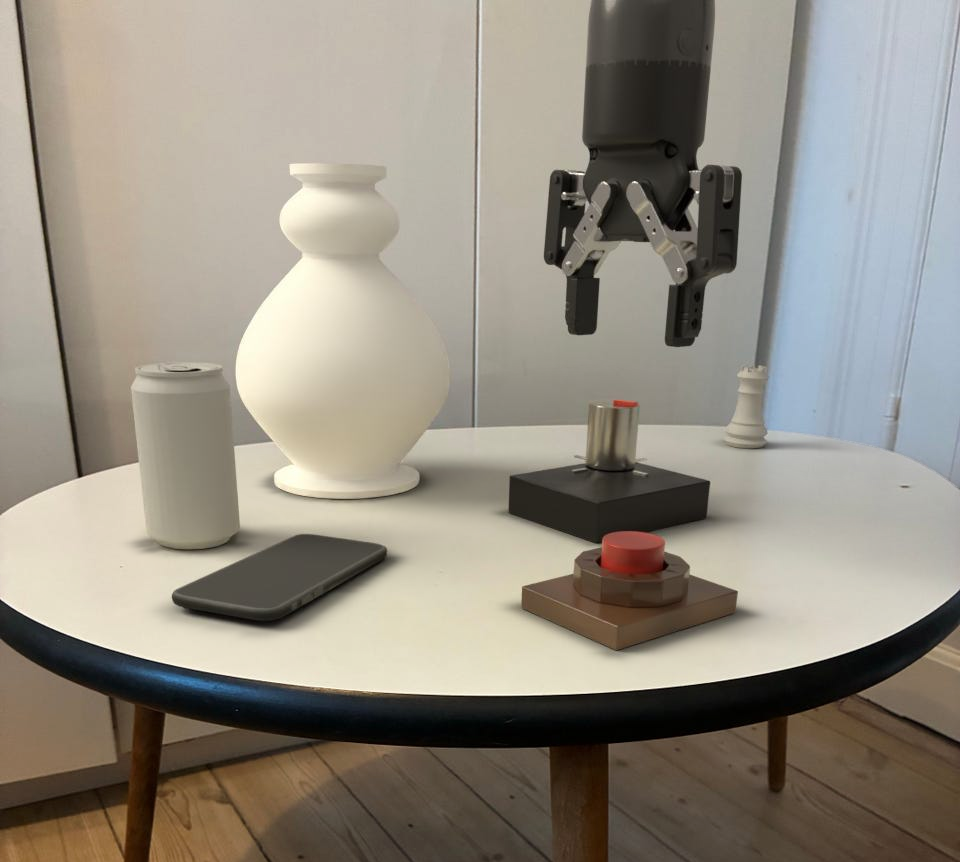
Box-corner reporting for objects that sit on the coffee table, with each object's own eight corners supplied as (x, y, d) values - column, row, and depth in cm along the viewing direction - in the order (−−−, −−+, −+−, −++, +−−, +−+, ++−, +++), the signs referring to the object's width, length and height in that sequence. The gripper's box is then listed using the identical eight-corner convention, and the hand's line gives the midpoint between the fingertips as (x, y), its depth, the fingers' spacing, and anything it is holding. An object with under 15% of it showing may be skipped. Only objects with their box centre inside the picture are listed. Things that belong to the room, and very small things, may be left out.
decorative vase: (233, 464, 94) (211, 166, 85) (419, 454, 100) (418, 173, 90) (256, 513, 79) (233, 155, 69) (475, 499, 84) (482, 165, 75)
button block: (638, 577, 67) (641, 532, 65) (735, 612, 61) (741, 564, 60) (520, 608, 61) (522, 559, 60) (616, 650, 55) (620, 598, 54)
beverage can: (167, 558, 68) (148, 374, 64) (134, 535, 73) (115, 362, 69) (255, 543, 72) (244, 368, 67) (219, 522, 77) (206, 357, 72)
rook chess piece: (720, 446, 106) (729, 367, 103) (725, 439, 110) (733, 362, 107) (765, 450, 105) (775, 370, 102) (768, 442, 109) (777, 365, 106)
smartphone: (393, 544, 69) (272, 612, 56) (393, 557, 70) (273, 628, 57) (298, 531, 72) (162, 593, 59) (299, 544, 72) (163, 608, 59)
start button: (631, 555, 62) (633, 527, 61) (675, 570, 60) (678, 542, 59) (587, 565, 60) (589, 537, 59) (632, 582, 57) (634, 552, 57)
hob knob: (576, 466, 83) (579, 399, 81) (601, 458, 86) (605, 393, 84) (619, 473, 81) (624, 405, 79) (643, 464, 84) (648, 399, 82)
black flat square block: (608, 485, 90) (610, 449, 88) (716, 516, 81) (720, 476, 80) (491, 507, 82) (492, 468, 81) (596, 543, 73) (599, 500, 72)
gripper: (785, 58, 59) (751, 347, 65) (603, 78, 69) (588, 328, 75) (705, 42, 55) (676, 355, 61) (522, 66, 65) (514, 333, 71)
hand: (628, 340), depth 68 cm, fingers open, 8 cm apart
